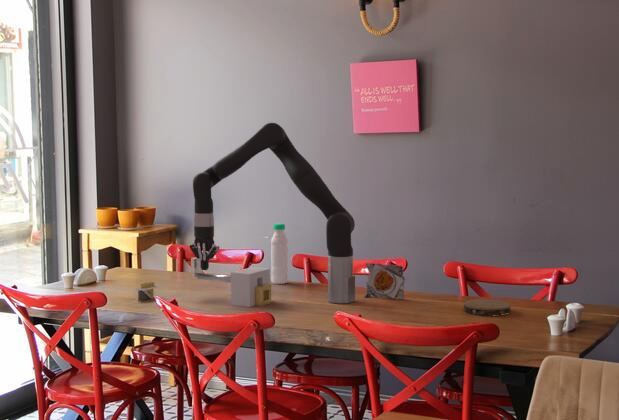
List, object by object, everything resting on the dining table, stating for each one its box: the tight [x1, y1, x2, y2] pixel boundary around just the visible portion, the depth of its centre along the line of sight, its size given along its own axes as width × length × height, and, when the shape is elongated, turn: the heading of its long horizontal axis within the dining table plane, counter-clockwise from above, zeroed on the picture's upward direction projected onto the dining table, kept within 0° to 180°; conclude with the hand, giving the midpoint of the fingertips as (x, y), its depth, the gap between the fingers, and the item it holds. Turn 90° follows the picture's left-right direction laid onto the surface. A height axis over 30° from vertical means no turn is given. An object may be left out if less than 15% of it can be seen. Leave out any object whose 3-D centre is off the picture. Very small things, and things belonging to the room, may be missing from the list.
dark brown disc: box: [463, 298, 511, 317], centre depth 285 cm, size 16×16×3 cm
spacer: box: [254, 283, 272, 307], centre depth 298 cm, size 2×7×7 cm, turn 151°
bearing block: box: [230, 266, 271, 308], centre depth 300 cm, size 8×14×12 cm, turn 151°
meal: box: [363, 262, 406, 300], centre depth 308 cm, size 15×4×13 cm, turn 69°
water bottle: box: [270, 223, 289, 285], centre depth 340 cm, size 7×7×25 cm
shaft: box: [190, 257, 231, 283], centre depth 306 cm, size 26×5×8 cm, turn 61°
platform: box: [134, 281, 158, 302], centre depth 308 cm, size 12×18×7 cm, turn 149°
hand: (204, 269), depth 310 cm, fingers closed
